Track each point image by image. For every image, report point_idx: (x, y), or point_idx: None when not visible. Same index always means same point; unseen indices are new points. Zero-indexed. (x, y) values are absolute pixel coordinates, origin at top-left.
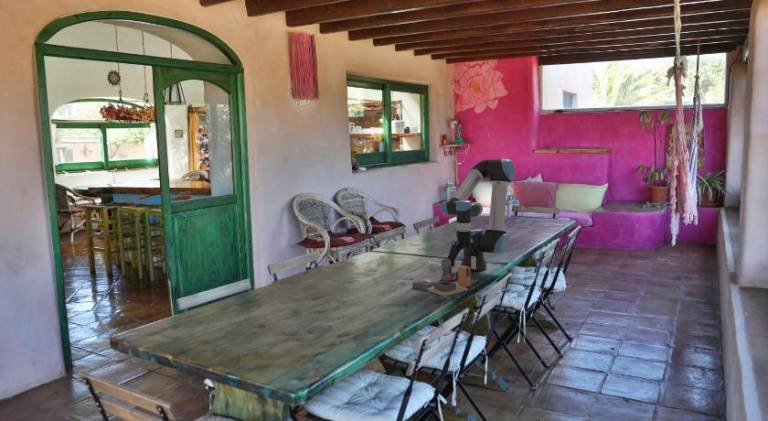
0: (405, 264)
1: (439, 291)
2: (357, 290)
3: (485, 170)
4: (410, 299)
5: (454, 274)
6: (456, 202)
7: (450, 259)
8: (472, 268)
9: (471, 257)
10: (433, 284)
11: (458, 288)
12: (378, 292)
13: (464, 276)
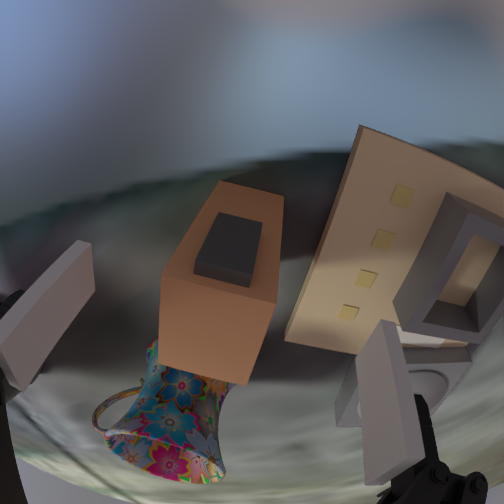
0: (158, 478)
1: None
2: (480, 447)
3: None
4: None
5: None
6: None
7: (473, 478)
8: (93, 275)
9: (28, 378)
10: (420, 355)
11: (415, 190)
12: (499, 416)
13: (279, 245)
